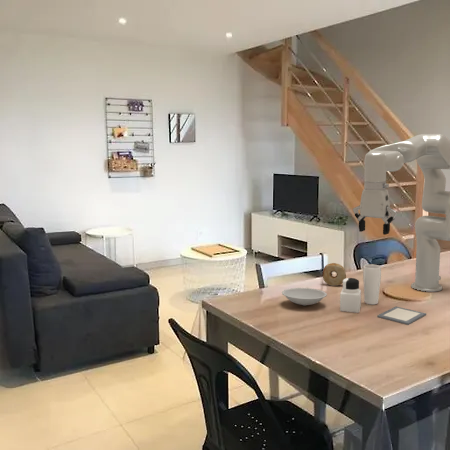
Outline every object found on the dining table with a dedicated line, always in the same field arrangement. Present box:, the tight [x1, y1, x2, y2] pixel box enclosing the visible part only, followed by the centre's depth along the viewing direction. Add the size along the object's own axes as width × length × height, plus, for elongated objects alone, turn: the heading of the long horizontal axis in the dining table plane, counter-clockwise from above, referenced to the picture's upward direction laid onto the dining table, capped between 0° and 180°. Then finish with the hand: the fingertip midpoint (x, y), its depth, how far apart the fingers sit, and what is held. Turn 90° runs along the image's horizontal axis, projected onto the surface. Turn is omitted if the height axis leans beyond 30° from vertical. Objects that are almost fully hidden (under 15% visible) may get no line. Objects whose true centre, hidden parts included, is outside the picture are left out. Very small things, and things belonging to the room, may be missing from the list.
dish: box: [281, 287, 328, 307], centre depth 204 cm, size 18×14×5 cm
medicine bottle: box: [339, 277, 362, 314], centre depth 197 cm, size 7×7×12 cm
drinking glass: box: [362, 264, 382, 305], centre depth 204 cm, size 7×7×15 cm
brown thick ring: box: [322, 262, 347, 287], centre depth 229 cm, size 10×4×10 cm, turn 68°
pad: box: [376, 306, 427, 326], centre depth 189 cm, size 14×12×1 cm
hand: (373, 232), depth 190 cm, fingers open, 9 cm apart
